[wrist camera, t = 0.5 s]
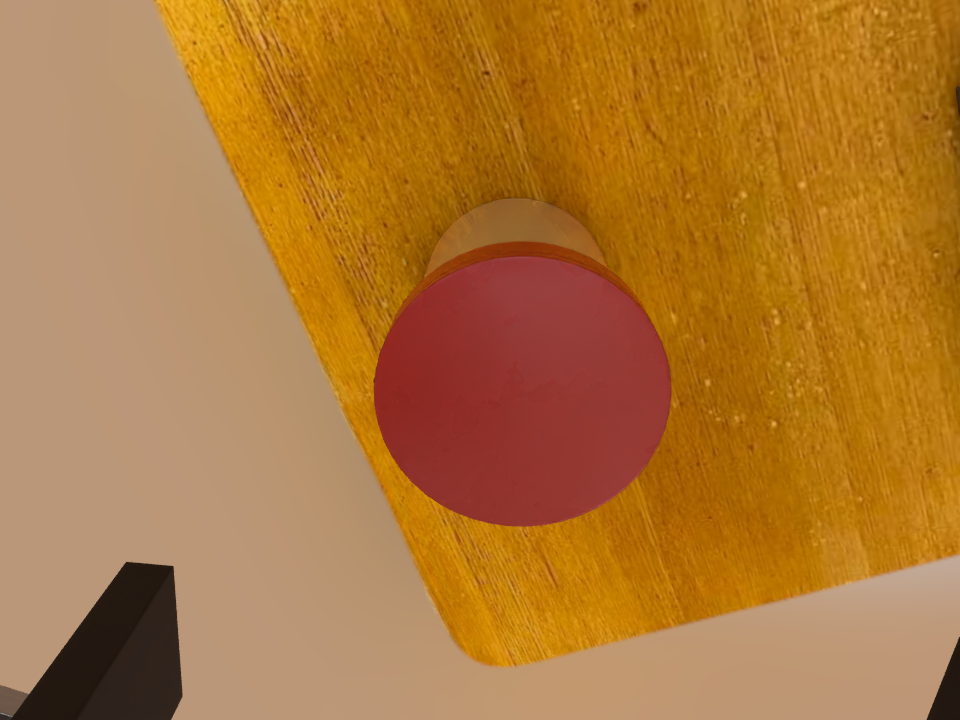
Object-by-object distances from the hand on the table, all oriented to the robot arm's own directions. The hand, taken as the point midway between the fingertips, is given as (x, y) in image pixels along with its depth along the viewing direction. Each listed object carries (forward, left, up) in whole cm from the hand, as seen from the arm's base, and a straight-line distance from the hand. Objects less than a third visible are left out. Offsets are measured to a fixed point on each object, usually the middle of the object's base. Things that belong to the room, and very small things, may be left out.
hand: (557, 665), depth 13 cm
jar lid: (0, 0, -10) cm, 10 cm away
